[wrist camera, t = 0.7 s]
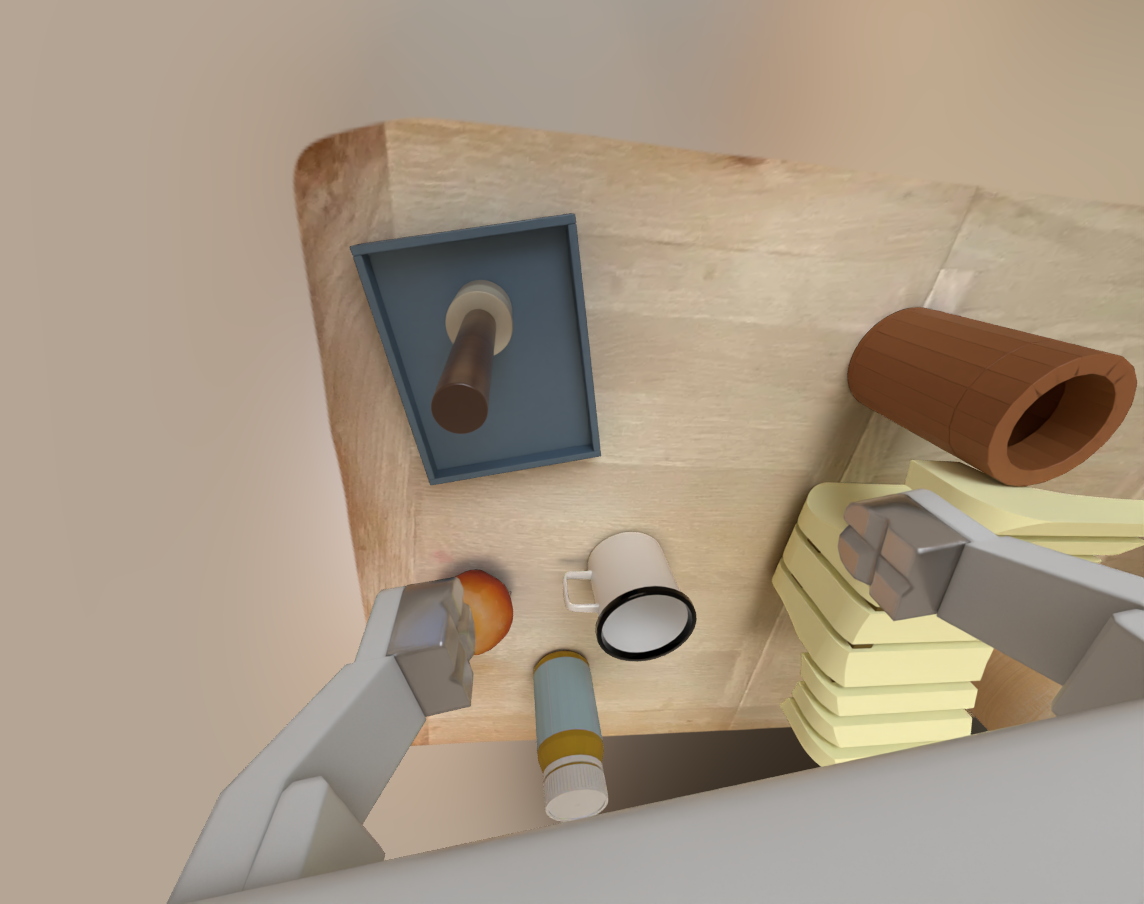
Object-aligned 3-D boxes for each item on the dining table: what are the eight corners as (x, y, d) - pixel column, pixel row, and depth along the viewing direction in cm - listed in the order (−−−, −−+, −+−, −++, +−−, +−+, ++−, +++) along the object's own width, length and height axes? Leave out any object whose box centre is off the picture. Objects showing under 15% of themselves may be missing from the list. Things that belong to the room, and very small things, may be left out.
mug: (675, 526, 47) (708, 590, 40) (657, 591, 52) (683, 660, 44) (563, 524, 45) (575, 591, 38) (554, 592, 50) (563, 665, 42)
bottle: (564, 639, 54) (582, 778, 41) (599, 664, 57) (626, 801, 44) (521, 668, 55) (525, 810, 42) (557, 691, 58) (571, 830, 45)
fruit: (488, 640, 50) (454, 682, 42) (446, 583, 51) (405, 615, 43) (542, 602, 48) (516, 638, 41) (497, 543, 49) (463, 568, 41)
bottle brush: (446, 284, 33) (384, 364, 16) (506, 275, 33) (504, 345, 17) (461, 343, 35) (419, 466, 18) (517, 334, 35) (525, 448, 19)
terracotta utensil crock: (858, 316, 39) (1019, 367, 26) (961, 299, 39) (1166, 342, 27) (839, 414, 43) (969, 496, 31) (931, 398, 44) (1095, 473, 31)
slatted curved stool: (826, 406, 43) (1008, 521, 27) (968, 415, 45) (1207, 525, 30) (736, 625, 57) (822, 784, 41) (848, 622, 59) (968, 771, 44)
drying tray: (357, 244, 31) (349, 246, 30) (571, 213, 32) (575, 213, 30) (433, 473, 41) (430, 485, 39) (597, 445, 42) (601, 456, 40)
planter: (1047, 666, 71) (1222, 816, 54) (915, 694, 70) (1049, 856, 53) (1112, 564, 60) (1358, 710, 43) (956, 595, 59) (1142, 758, 42)
